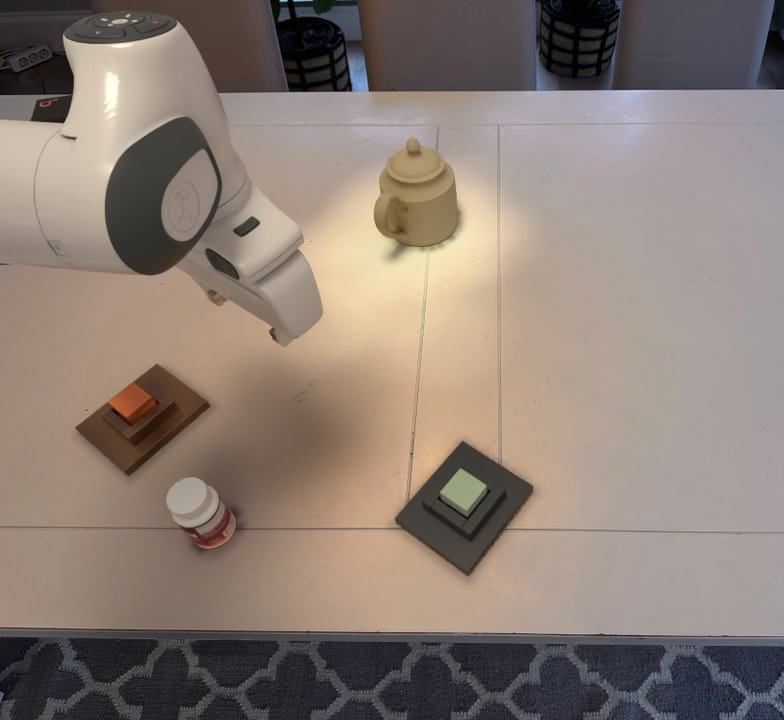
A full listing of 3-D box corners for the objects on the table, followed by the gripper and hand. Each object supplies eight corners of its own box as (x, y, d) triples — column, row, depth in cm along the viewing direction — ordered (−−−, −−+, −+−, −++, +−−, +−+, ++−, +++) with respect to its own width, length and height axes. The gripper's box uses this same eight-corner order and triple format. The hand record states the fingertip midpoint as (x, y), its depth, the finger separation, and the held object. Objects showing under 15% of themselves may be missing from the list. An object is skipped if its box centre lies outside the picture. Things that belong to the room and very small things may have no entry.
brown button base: (128, 476, 78) (116, 463, 76) (79, 432, 82) (66, 419, 80) (210, 406, 84) (201, 392, 81) (160, 368, 88) (151, 354, 85)
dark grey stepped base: (468, 576, 70) (467, 565, 67) (395, 522, 74) (392, 511, 71) (533, 490, 75) (534, 478, 73) (462, 445, 79) (461, 432, 77)
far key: (132, 425, 79) (126, 417, 78) (114, 410, 81) (107, 402, 79) (157, 404, 81) (151, 396, 80) (139, 390, 82) (133, 382, 81)
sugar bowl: (456, 265, 98) (449, 180, 86) (380, 266, 98) (363, 182, 86) (459, 198, 107) (453, 113, 95) (390, 199, 107) (375, 115, 95)
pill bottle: (185, 527, 74) (153, 493, 67) (223, 500, 76) (196, 464, 69) (205, 558, 72) (174, 526, 65) (244, 530, 74) (218, 496, 67)
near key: (467, 518, 71) (466, 510, 69) (440, 499, 72) (439, 492, 71) (487, 492, 73) (487, 485, 71) (461, 475, 74) (460, 467, 73)
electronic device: (108, 138, 120) (94, 112, 116) (45, 147, 118) (29, 122, 114) (112, 115, 124) (99, 89, 120) (51, 124, 123) (36, 99, 119)
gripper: (98, 187, 59) (161, 295, 70) (258, 281, 51) (301, 386, 62) (156, 151, 62) (208, 260, 73) (316, 235, 54) (347, 343, 65)
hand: (252, 319), depth 68 cm, fingers open, 8 cm apart
